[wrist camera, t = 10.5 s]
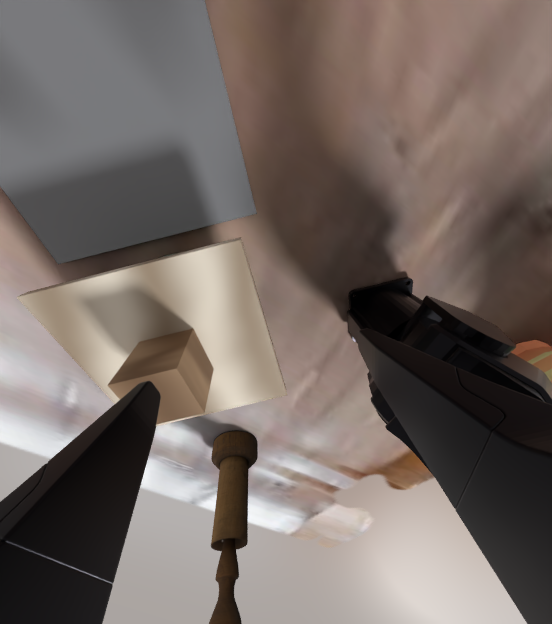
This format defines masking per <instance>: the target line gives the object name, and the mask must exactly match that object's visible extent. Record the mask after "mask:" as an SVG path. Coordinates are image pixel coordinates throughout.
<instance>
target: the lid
mask: <svg viewBox="0 0 552 624" xmlns="http://www.w3.org/2000/svg"><path fill="white" fill-rule="evenodd" d="M17 298H18V299H19V301H20V302H21V303H22V304H23V305H24V306H25V307H26V308H27V309H28V310H29V311H30V313H31V314H32V315H33V316H34V317H35V318H36V319H37V320H38V321H39V322H40V323H41V324H42V326H43V327H44V328H45V329H46V330H47V331H48V332H49V333H50V334H51V335H52V336H53V337H54V339H55V340H56V341H57V342H58V343H59V344H60V345H61V346H62V347H63V348H64V349H65V351H66V352H67V353H68V354H69V355H70V356H71V357H72V358H73V359H74V360H75V361H76V362H77V364H78V365H79V366H80V367H81V368H82V369H83V370H84V371H85V372H86V373H87V374H88V376H89V377H90V378H91V379H92V380H93V381H94V382H95V383H96V384H97V385H98V386H99V387H100V389H101V390H102V391H103V392H104V393H105V394H106V395H107V396H108V397H109V398H110V399H111V400H112V402H113V403H114V404H116V403H117V402H118V401H119V400H120V399H121V398H123V397H124V396H125V395H126V394H127V393H128V392H130V391H131V390H132V389H133V388H134V387H135V386H137V385H138V384H139V383H141V382H145V381H151V382H152V383H153V384H154V385H155V387H156V388H157V390H158V391H159V392H160V395H161V400H160V406H159V412H158V418H157V423H156V426H160V425H164V424H168V423H172V422H176V421H181V420H185V419H189V418H193V417H197V416H202V415H206V414H210V413H214V412H219V411H223V410H227V409H231V408H235V407H240V406H244V405H248V404H252V403H256V402H261V401H265V400H269V399H273V398H277V397H282V396H286V395H287V392H286V387H285V384H284V380H283V377H282V373H281V370H280V367H279V363H278V360H277V357H276V353H275V350H274V347H273V343H272V340H271V336H270V333H269V330H268V326H267V323H266V320H265V316H264V313H263V309H262V306H261V303H260V299H259V296H258V293H257V289H256V286H255V282H254V279H253V276H252V272H251V269H250V266H249V262H248V259H247V256H246V252H245V249H244V245H243V242H242V239H241V237H240V238H236V239H232V240H228V241H224V242H220V243H216V244H212V245H208V246H205V247H201V248H197V249H193V250H189V251H185V252H181V253H177V254H173V255H170V256H166V257H162V258H158V259H154V260H150V261H146V262H142V263H138V264H135V265H131V266H127V267H123V268H119V269H115V270H111V271H107V272H103V273H100V274H96V275H92V276H88V277H84V278H80V279H76V280H72V281H68V282H65V283H61V284H57V285H53V286H49V287H45V288H41V289H37V290H34V291H30V292H27V293H25V294H22V295H20V296H18V297H17Z"/></svg>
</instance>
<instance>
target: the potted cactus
mask: <svg viewBox="0 0 552 624" xmlns="http://www.w3.org/2000/svg"><path fill="white" fill-rule="evenodd" d="M511 353H513V354H515V355H516V356H518V357H520V358H522V359H523V360H525V361H527V362H528V363H530V364H532V365H534V366H535V367H537V368H539V369H540V370H542V371H543V372H544V373H545V374H546V376H547V377H548V378H549V380H550V381H551V383H552V347H550V346H549V345H548V344H547V343H544V342H541V341H538V340H532V341H527V342H522V343H518V344H516V348H515V349H514V350H513V351H512V352H511Z"/></svg>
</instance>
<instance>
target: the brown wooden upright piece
mask: <svg viewBox="0 0 552 624" xmlns="http://www.w3.org/2000/svg"><path fill="white" fill-rule="evenodd" d="M256 460H257V440H256V438H255V437H254V436H253V435H252V434H250V433H246V432H242V431H231V432H226V433H223V434H221V435H219V436H218V437H217V438H216V439H215V441H214V443H213V451H212V462H213V464H214V465H215V466H216V467H217V468H218V469H219V470H220V472H219V482H218V491H217V500H216V509H215V518H214V526H213V535H212V543H211V547H212V548H213V549H214V550H217V551H222V553H221V556H220V560H219V564H218V569H217V574H216V581H217V582H218V583H219V597H218V601H217V604H216V607H215V609H214V612H213V614H212V617H211V619H210V622H209V624H241V618H240V614H239V611H238V608H237V605H236V602H235V598H234V585H235V581H236V579H238V577H239V572H238V562H237V555H236V549H240V548H242V547H244V546H246V545H247V517H248V469H249V468H250V467H251V466H252V465H253V464H254V463H255V462H256Z"/></svg>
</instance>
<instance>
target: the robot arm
mask: <svg viewBox="0 0 552 624" xmlns="http://www.w3.org/2000/svg"><path fill="white" fill-rule="evenodd" d="M407 281H408V283H407V284H406V282H407ZM412 286H413V280H412V279H410V278H408V277H405V278H401V279H397V280H393V281H389V282H385V283H381V284H377V285H373V286H369V287H365V288H360V289H356V290H353V291H351V292H350V293H349V307H350V310H349V311H348V312H347V314H348V329H349V332H350V333H351V338H352V340H353V341H354V342H357V343H358V347H359V351H360V353H361V355H362V357H363V359H364V361H365V363H366V365H367V367H368V369H369V373H368V374H367V375H368V379H369V383H370V384H369V387H370V390H371V393H372V397H371V402H372V404H373V405H374V407H375V409H376V411H377V412H378V414H379V416H380V417H381V418H382V420H383V421H384V422H385V423H386V424H387V425H386V429H387V430H388V431H390V432H391V433H392V434H394V435H395V436H396V437H398V438H399V439H400V440H401V441H403V442H404V443H405V444H406V445H407V446H408V447H409V448H410V449H411V450H412V451H413V452H414V453H415V454H416V455H417V457H418V458H419V459H420V460H421V461H422V462H423V464H424V465H425V466H426V467H427V468H428V470H429V471H430V472H431V473H432V474H433V476H434V477H435V478H436V480H437V481H438V483H439V484H440V486H441V488H442V489H443V491H444V492H445V494H446V496H447V497H448V498H449V500H450V502H451V503H452V505H453V507H454V508H455V509H456V512H457V513H458V515H459V516H460V518H461V520H462V521H463V523H464V524H465V526H466V527H467V529H468V531H469V532H470V534H471V535H472V537H473V539H474V540H475V542H476V543H477V545H478V546H479V548H480V550H481V551H482V553H483V554H484V556H485V558H486V559H487V561H488V562H489V564H490V565H491V567H492V569H493V570H494V572H495V573H496V575H497V576H498V578H499V580H500V581H501V583H502V584H503V586H504V587H505V589H506V591H507V592H508V594H509V595H510V597H511V598H512V600H513V602H514V603H515V605H516V606H517V608H518V610H519V611H520V613H521V614H522V616H523V618H524V619H525V621H526V622H527V624H552V383H551V381H550V380H549V378H548V377H547V376H546V374H545V373H544V372H543V371H542V370H540V369H539V368H537V367H535V366H534V365H532V364H530V363H528V362H527V361H525V360H523V359H522V358H520V357H518V356H516V355H515V354H513V353H511V352H512V351H513V350H514V349H515V348H516V345H515V344H514V343H513V342H512V341H511V340H510V339H509V338H508V337H507V336H506V335H505V334H504V333H503V332H502V331H501V330H500V329H499V328H498V327H497V326H495V325H493V324H491V323H490V322H488V321H486V320H484V319H482V318H480V317H478V316H476V315H474V314H472V313H470V312H468V311H466V310H463V309H461V308H458V307H456V306H453V305H450V304H448V303H445V302H442V301H440V300H437V299H435V298H432V297H429V296H426V297H425V298H424V299H423V301H422V300H420V299H419V298H417V297H416V296H414V295H413V294H412ZM354 294H356V295H355V296H354V297H353V295H354ZM160 400H161V395H160V392H159V391H158V390H157V388H156V387H155V385H154V384H153V383H152V382H151V381H145V382H141V383H139V384H138V385H137V386H135V387H134V388H133V389H132V390H131V391H130V392H128V393H127V394H126V395H125V396H124V397H123V398H121V399H120V400H119V401H118V402H117V403H116V404H115V405H113V406H112V407H111V408H110V409H109V410H108V411H106V412H105V413H104V414H103V415H102V416H101V417H99V418H98V419H97V420H96V421H95V422H94V423H92V424H91V425H90V426H89V427H88V428H87V429H86V430H84V431H83V432H82V433H81V434H80V435H79V436H77V437H76V438H75V439H74V440H73V441H72V442H70V443H69V444H68V445H67V446H66V447H65V448H63V449H62V450H61V451H60V452H59V453H58V454H56V455H55V456H54V457H53V458H52V459H51V460H50V461H48V463H47V464H45V465H44V466H42V467H41V468H40V469H39V470H38V471H37V472H36V473H34V474H33V475H32V476H31V477H30V478H28V479H27V480H26V481H25V482H24V483H23V484H21V485H20V486H19V487H18V488H17V489H15V490H14V491H13V492H12V493H11V494H9V495H8V496H7V497H6V498H4V499H3V500H2V501H1V502H0V624H102V622H103V619H104V615H105V611H106V608H107V604H108V601H109V597H110V593H111V590H112V583H113V582H114V578H115V575H116V571H117V568H118V564H119V561H120V557H121V553H122V549H123V546H124V543H125V538H126V535H127V532H128V528H129V524H130V521H131V517H132V514H133V510H134V506H135V503H136V499H137V496H138V492H139V489H140V485H141V481H142V478H143V474H144V470H145V467H146V463H147V460H148V456H149V452H150V449H151V445H152V442H153V438H154V434H155V429H156V423H157V418H158V412H159V406H160Z"/></svg>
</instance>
